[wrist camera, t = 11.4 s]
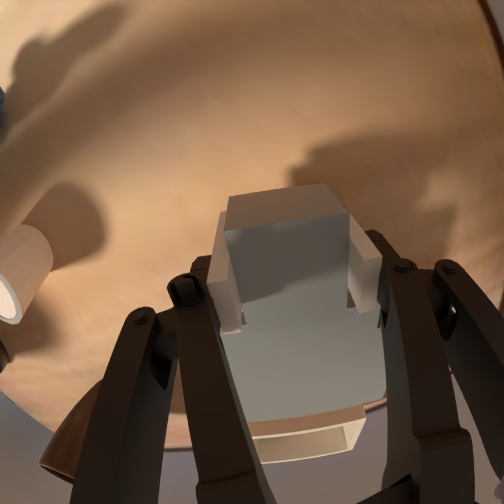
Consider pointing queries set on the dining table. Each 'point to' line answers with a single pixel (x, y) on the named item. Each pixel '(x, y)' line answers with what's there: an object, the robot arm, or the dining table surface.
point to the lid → (298, 307)
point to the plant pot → (70, 439)
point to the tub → (307, 435)
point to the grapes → (1, 102)
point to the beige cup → (22, 270)
